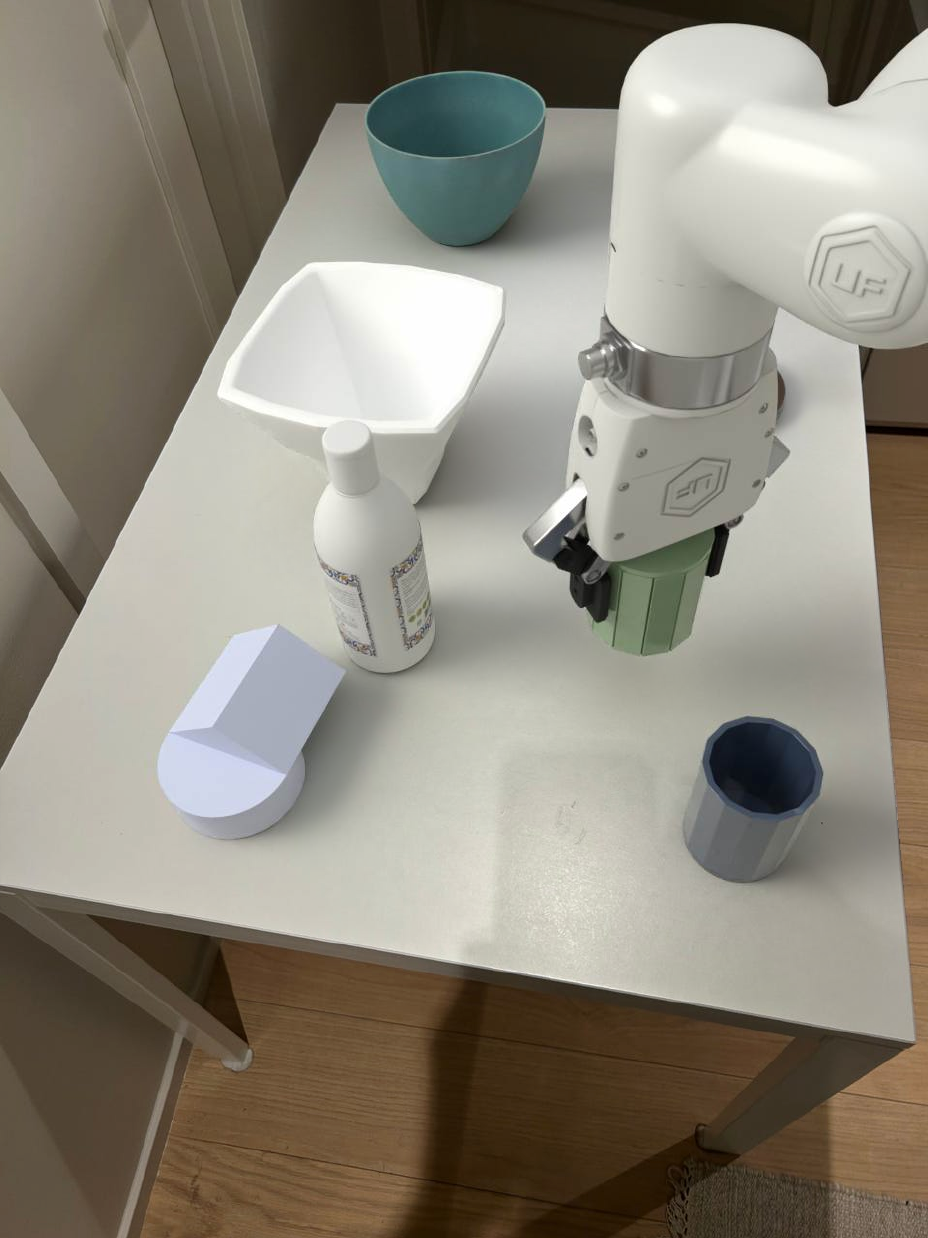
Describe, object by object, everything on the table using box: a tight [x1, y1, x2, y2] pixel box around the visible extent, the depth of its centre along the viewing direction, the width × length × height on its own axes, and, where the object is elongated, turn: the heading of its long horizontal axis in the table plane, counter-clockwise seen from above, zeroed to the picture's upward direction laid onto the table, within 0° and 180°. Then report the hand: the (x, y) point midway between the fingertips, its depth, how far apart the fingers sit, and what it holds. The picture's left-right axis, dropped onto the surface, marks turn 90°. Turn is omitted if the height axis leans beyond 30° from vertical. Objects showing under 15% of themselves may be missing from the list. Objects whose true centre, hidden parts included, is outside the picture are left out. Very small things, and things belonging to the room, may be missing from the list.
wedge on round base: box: [156, 623, 347, 841], centre depth 62 cm, size 9×7×13 cm
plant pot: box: [363, 70, 547, 247], centre depth 98 cm, size 18×18×12 cm
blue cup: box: [682, 715, 824, 883], centre depth 55 cm, size 6×6×9 cm
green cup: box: [585, 527, 715, 657], centre depth 56 cm, size 7×7×8 cm
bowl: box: [217, 261, 507, 505], centre depth 74 cm, size 19×19×14 cm
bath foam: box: [312, 420, 436, 674], centre depth 61 cm, size 7×7×20 cm
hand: (645, 581), depth 57 cm, fingers closed on green cup, 7 cm apart
